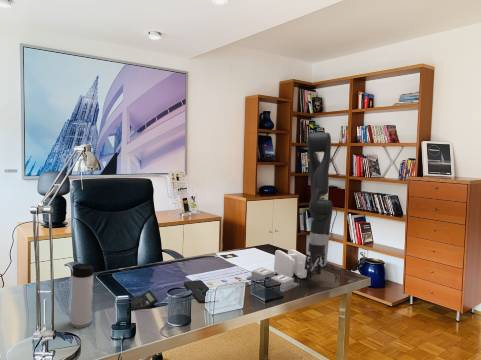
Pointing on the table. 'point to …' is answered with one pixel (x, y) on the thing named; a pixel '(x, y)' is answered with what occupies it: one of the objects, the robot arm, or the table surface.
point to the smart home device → (197, 289)
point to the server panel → (274, 278)
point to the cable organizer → (290, 263)
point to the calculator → (143, 301)
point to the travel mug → (82, 295)
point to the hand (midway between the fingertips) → (313, 276)
